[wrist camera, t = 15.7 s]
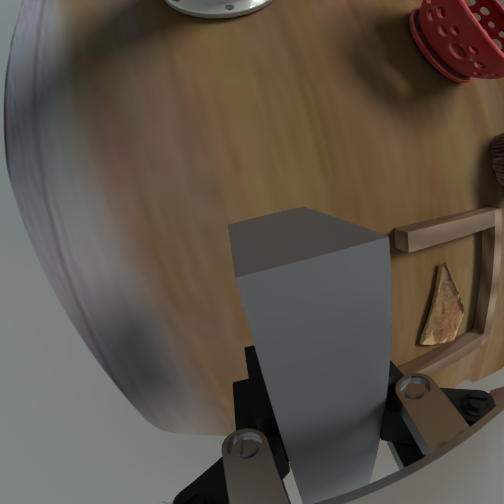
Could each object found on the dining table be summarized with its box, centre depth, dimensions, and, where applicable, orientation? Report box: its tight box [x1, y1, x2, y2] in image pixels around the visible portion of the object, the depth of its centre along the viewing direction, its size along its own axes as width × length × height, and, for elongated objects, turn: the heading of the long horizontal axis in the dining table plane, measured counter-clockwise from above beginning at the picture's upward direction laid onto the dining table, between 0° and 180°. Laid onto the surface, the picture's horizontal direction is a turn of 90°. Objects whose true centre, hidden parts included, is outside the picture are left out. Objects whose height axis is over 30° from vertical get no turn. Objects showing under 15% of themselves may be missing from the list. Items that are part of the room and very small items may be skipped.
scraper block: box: [228, 207, 392, 504], centre depth 9 cm, size 12×3×6 cm, turn 13°
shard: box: [420, 262, 465, 345], centre depth 28 cm, size 11×8×2 cm
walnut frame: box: [394, 206, 502, 376], centre depth 27 cm, size 20×18×2 cm
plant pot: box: [409, 0, 504, 83], centre depth 15 cm, size 13×13×12 cm
